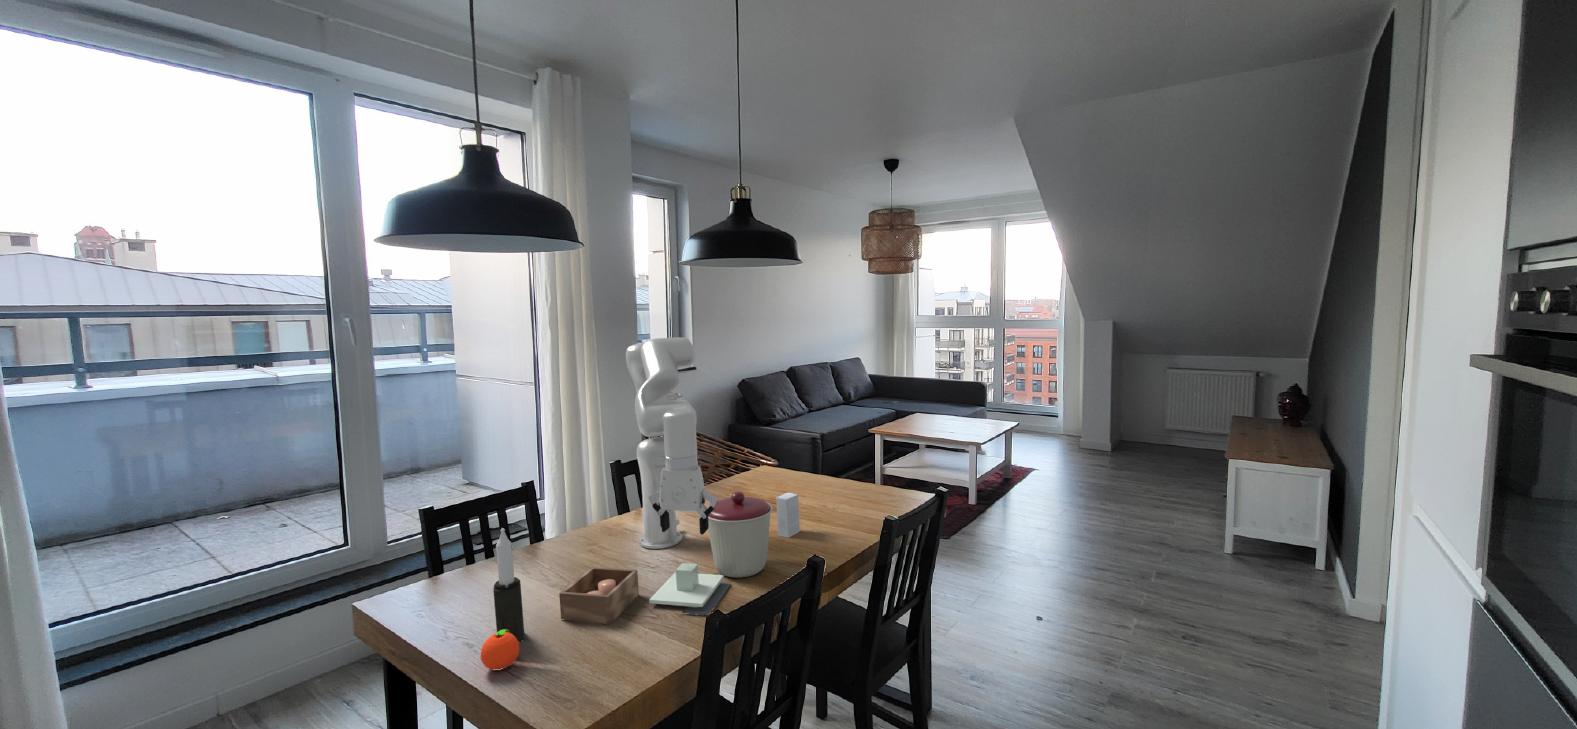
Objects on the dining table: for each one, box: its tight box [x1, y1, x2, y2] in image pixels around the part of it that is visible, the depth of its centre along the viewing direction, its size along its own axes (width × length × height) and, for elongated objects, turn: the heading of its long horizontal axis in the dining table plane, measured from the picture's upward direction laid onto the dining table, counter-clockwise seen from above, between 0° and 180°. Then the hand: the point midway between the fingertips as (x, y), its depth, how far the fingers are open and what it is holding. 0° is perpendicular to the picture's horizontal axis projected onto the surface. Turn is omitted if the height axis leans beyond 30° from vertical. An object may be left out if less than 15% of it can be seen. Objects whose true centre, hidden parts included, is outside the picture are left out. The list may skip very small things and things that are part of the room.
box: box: [558, 566, 640, 625], centre depth 142 cm, size 14×12×7 cm
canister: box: [706, 491, 774, 579], centre depth 161 cm, size 18×18×21 cm
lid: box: [649, 562, 725, 608], centre depth 147 cm, size 15×13×7 cm
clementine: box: [480, 629, 520, 670], centre depth 121 cm, size 8×7×7 cm
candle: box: [492, 527, 525, 643], centre depth 129 cm, size 5×5×25 cm
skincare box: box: [776, 491, 801, 539], centre depth 186 cm, size 6×4×12 cm
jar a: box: [598, 579, 616, 595], centre depth 145 cm, size 4×4×4 cm
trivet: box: [682, 581, 731, 617], centre depth 147 cm, size 16×16×1 cm
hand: (684, 531), depth 147 cm, fingers open, 9 cm apart
